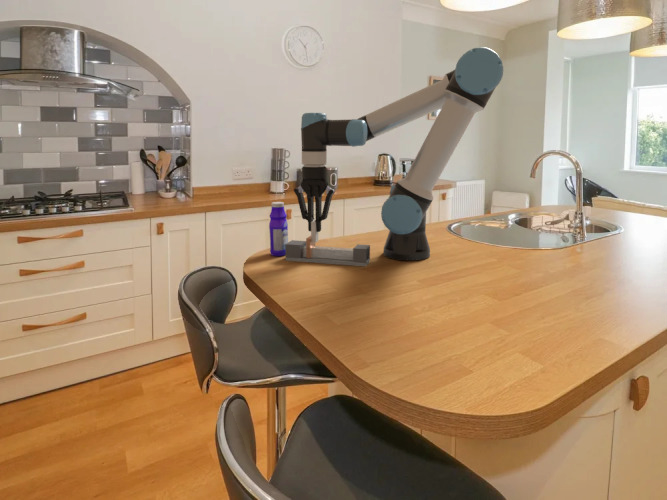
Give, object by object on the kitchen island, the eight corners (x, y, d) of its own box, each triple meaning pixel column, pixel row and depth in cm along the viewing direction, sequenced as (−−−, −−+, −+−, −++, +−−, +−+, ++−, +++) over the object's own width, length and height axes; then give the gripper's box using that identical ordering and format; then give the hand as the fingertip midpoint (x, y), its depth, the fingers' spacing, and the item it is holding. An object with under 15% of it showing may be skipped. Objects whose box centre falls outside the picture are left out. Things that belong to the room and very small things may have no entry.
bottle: (284, 257, 153) (282, 204, 149) (267, 256, 155) (265, 203, 150) (290, 252, 160) (289, 201, 156) (274, 251, 162) (273, 200, 157)
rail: (369, 261, 148) (370, 245, 147) (365, 266, 143) (365, 249, 141) (292, 255, 155) (292, 240, 154) (285, 260, 150) (285, 244, 148)
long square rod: (366, 257, 148) (366, 238, 146) (362, 262, 143) (363, 241, 141) (303, 253, 153) (303, 234, 152) (297, 257, 149) (297, 237, 147)
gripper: (338, 165, 145) (337, 240, 150) (298, 164, 148) (299, 237, 154) (331, 167, 138) (331, 245, 143) (289, 166, 141) (291, 242, 147)
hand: (314, 241), depth 149 cm, fingers closed
